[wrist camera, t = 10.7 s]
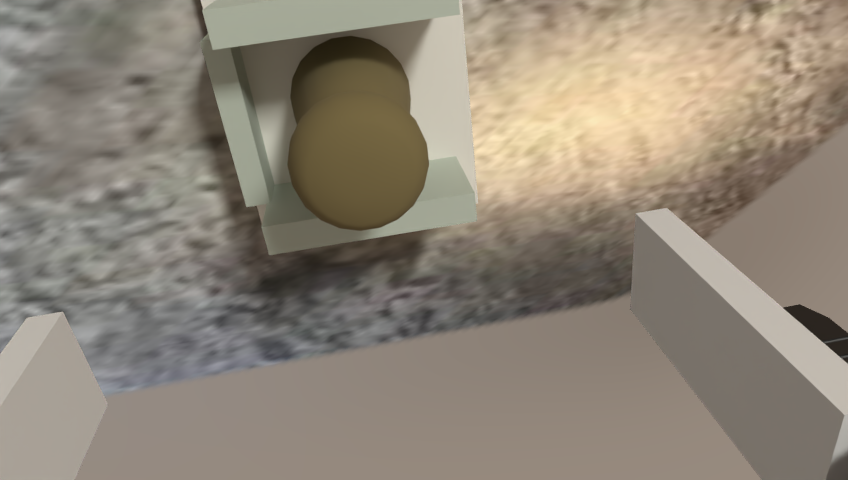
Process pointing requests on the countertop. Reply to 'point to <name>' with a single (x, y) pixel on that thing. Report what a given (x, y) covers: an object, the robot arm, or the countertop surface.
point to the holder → (274, 119)
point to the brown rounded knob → (355, 135)
